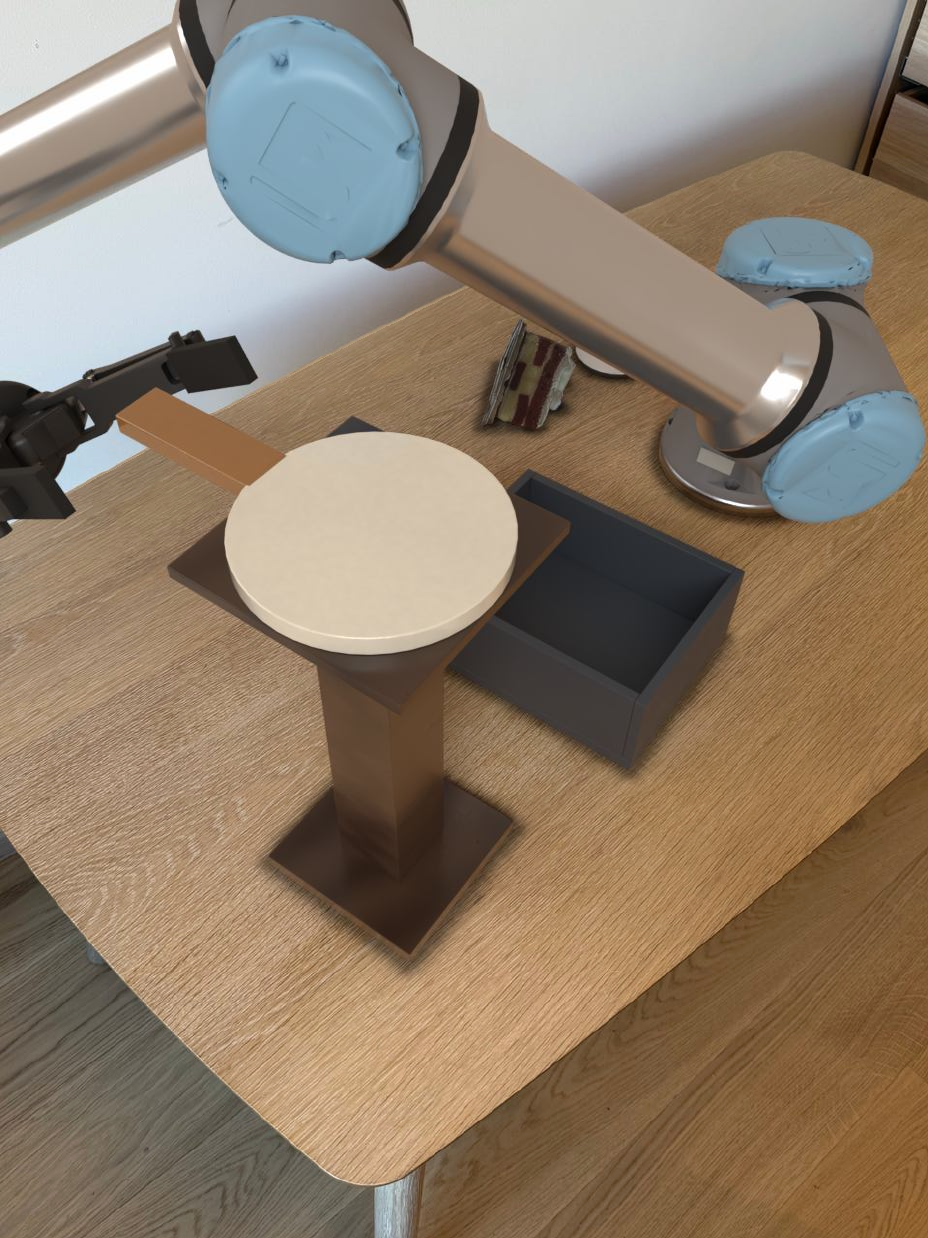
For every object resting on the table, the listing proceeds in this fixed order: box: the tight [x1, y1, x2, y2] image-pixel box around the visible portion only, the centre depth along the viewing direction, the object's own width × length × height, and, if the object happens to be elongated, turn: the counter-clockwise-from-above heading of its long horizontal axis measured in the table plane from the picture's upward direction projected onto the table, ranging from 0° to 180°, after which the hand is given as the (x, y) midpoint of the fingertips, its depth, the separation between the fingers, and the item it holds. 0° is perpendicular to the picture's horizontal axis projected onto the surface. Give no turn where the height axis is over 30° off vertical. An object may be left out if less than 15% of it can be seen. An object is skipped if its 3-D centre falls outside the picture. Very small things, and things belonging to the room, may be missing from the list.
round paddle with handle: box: [115, 388, 518, 655], centre depth 55 cm, size 23×14×1 cm, turn 55°
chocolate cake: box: [481, 316, 576, 431], centre depth 108 cm, size 10×7×12 cm
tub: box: [446, 468, 746, 771], centre depth 85 cm, size 20×16×8 cm
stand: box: [166, 415, 570, 963], centre depth 65 cm, size 14×14×30 cm
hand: (155, 422), depth 59 cm, fingers open, 13 cm apart
